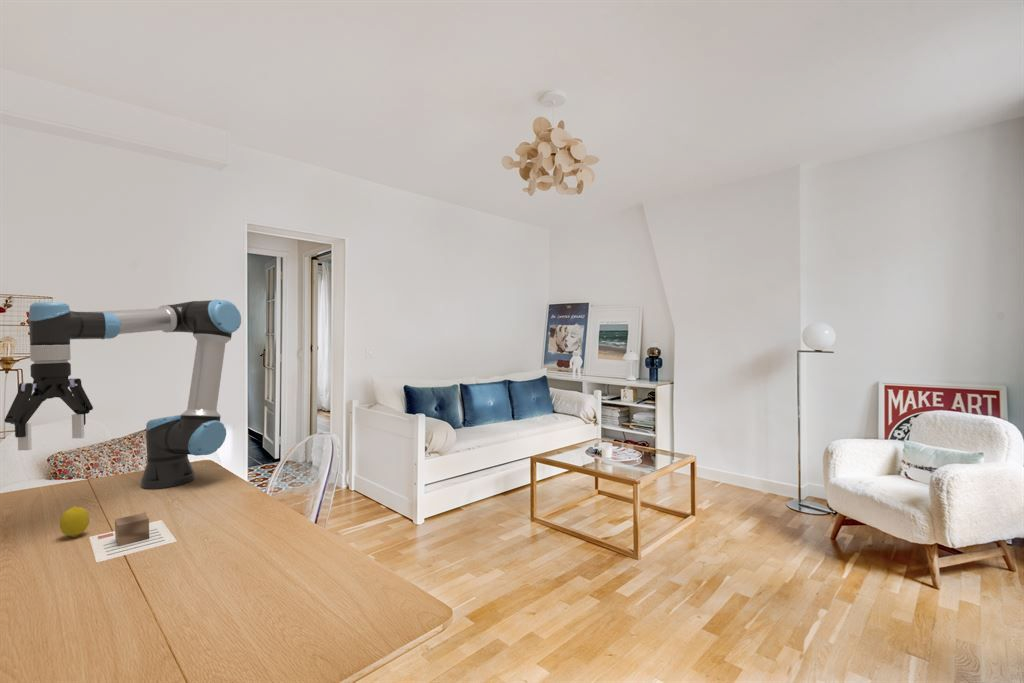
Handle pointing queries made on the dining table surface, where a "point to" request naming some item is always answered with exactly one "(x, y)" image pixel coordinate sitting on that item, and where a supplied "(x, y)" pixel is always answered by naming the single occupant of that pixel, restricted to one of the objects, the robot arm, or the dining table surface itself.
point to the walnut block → (131, 529)
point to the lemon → (74, 521)
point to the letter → (109, 548)
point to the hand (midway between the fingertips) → (53, 443)
